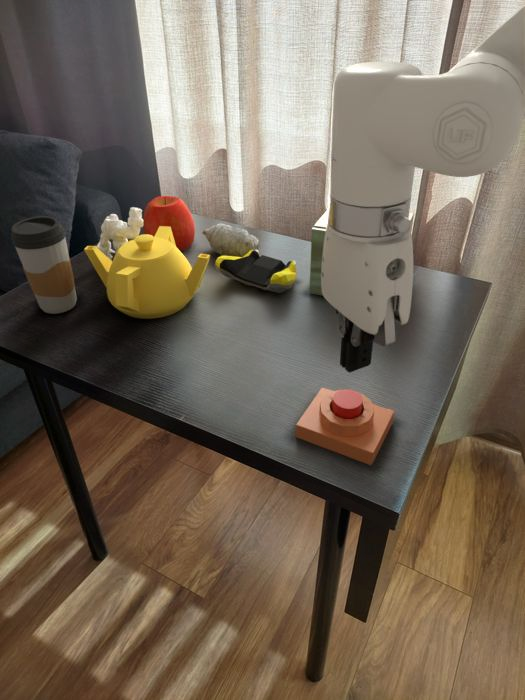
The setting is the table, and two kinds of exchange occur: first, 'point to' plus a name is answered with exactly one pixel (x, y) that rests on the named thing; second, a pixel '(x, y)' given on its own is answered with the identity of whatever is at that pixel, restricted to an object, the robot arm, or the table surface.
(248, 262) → the black and yellow shoe
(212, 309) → the table surface
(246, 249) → the seashell
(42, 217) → the coffee cup
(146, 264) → the teapot
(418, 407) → the table surface
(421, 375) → the table surface
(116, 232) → the figurine
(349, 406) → the button
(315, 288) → the door
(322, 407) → the button block
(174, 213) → the apple
